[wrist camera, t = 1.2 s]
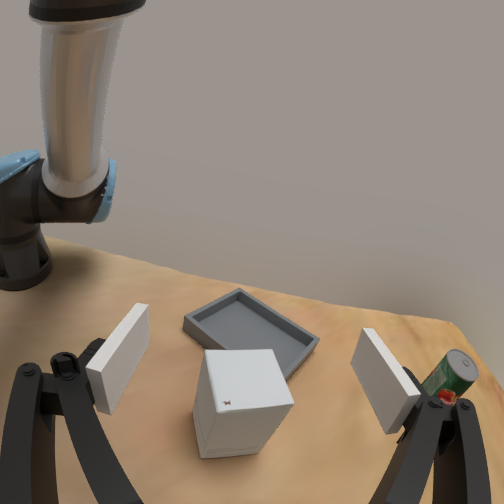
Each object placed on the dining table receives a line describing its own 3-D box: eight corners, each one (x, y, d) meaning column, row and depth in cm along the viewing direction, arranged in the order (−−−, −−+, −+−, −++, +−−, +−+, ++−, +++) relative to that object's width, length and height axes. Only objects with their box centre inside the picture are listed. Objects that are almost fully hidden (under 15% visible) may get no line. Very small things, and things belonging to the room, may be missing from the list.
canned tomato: (427, 427, 33) (468, 386, 28) (404, 396, 40) (440, 354, 35) (447, 410, 37) (484, 372, 32) (426, 384, 43) (458, 344, 38)
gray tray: (182, 329, 44) (184, 315, 43) (236, 299, 55) (239, 287, 54) (270, 398, 36) (277, 386, 35) (313, 350, 47) (320, 338, 46)
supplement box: (259, 454, 28) (297, 405, 22) (199, 459, 25) (214, 413, 20) (246, 407, 34) (274, 347, 28) (191, 409, 31) (203, 347, 26)
